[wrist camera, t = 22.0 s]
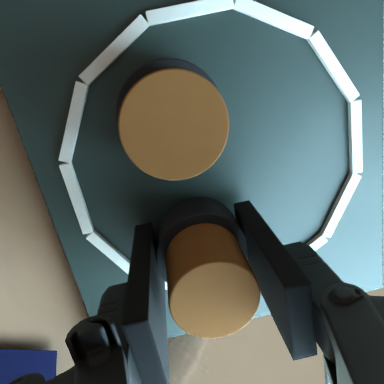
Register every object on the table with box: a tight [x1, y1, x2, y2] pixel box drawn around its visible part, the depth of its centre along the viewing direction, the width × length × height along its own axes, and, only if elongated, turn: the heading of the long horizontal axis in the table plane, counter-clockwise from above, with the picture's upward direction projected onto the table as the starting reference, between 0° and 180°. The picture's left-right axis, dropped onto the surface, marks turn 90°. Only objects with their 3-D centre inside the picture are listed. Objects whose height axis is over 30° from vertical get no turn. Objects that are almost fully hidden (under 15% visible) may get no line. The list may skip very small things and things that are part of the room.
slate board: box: [0, 0, 384, 338], centre depth 16 cm, size 16×18×1 cm
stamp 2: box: [156, 197, 261, 339], centre depth 14 cm, size 4×4×5 cm
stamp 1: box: [116, 58, 229, 181], centre depth 12 cm, size 4×4×5 cm
